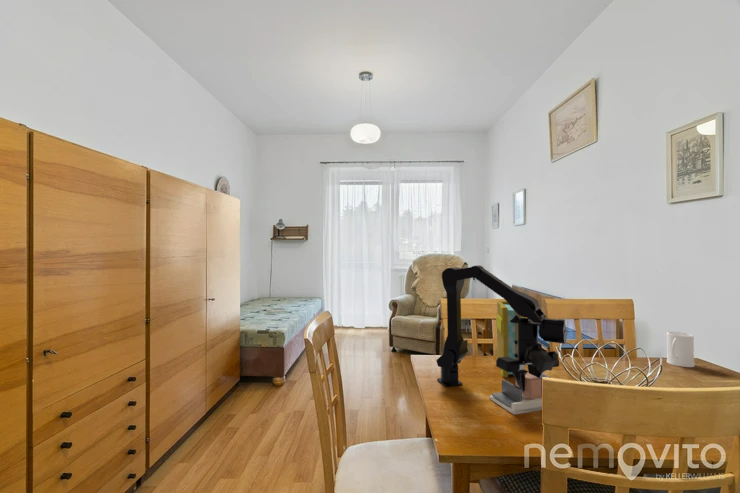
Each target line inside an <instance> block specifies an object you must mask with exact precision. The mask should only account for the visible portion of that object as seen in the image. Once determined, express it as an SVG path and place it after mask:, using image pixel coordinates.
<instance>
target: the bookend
mask: <svg viewBox="0 0 740 493" xmlns="http://www.w3.org/2000/svg"><path fill="white" fill-rule="evenodd" d="M491 395H492V396H493V397H495V398H496V399H498V400H500V401H501V402H503V403H504V404H506V405H508V406H509V407H511V406H512V403H515V402H522V389H521V388H519V387H517V386H515V384H514V383H511V382H510V381H507V380H505V379H501V392H500V391H499V392H493V393H491Z"/></svg>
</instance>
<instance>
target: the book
mask: <svg viewBox="0 0 740 493" xmlns="http://www.w3.org/2000/svg"><path fill="white" fill-rule="evenodd" d="M496 307H497V308H496V309H497V310H496V318H495V319H496V328H497V330H496V331H497V332H496V333H497V336H496V337H497V340H496V341H497V343H496V344H497V348H496V349H497V357H496V358H497V359H498V357H507V356H508V357H510V358H513V359H515V360H516V359H518V358H516V357H515V353H517V344H515V340H517V323H511V322H510V320H512V319H513V318H514V317H515V315H517V313H516V312H515V311H514V310H513V309H512V308H511V306H510V305H509V304H508V302H507V301H506V300H504V301H503V300H500V301H496ZM519 316H520V315H519ZM520 317H522V316H520ZM497 359H496V360H497ZM499 370H500V375H501V377H502V378H509V375H513V373H512V372H507V371H505V370H503V369H501V368H499Z"/></svg>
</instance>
